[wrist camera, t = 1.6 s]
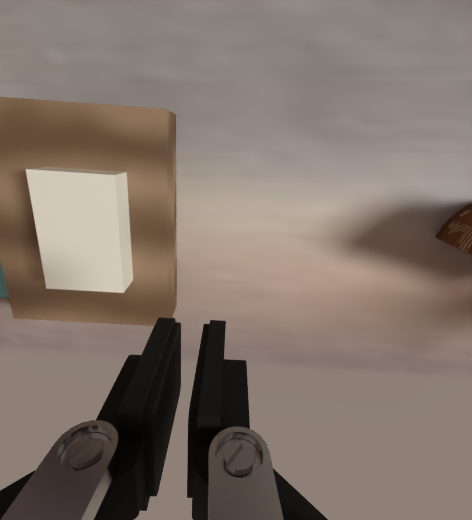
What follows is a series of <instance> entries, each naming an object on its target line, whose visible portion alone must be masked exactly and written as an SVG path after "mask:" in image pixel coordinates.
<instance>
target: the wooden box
mask: <svg viewBox="0 0 472 520" xmlns="http://www.w3.org/2000/svg"><path fill="white" fill-rule="evenodd" d="M39 167H58V168H73V169H88V170H103V171H117V172H127V186H128V203H129V219H130V236H131V253H132V269H133V281H132V282H131V284H130V285H129V286H128V288H127V289H126V290H125V292H124V293H116V292H98V291H81V290H63V289H46V283H45V278H44V272H43V266H42V260H41V255H40V249H39V243H38V238H37V232H36V226H35V220H34V215H33V209H32V203H31V197H30V192H29V186H28V180H27V174H26V169H31V168H39ZM0 260H1V265H2V269H3V274H4V278H5V283H6V287H7V291H8V296H9V300H10V305H11V309H12V314H13V318H18V319H36V320H55V321H73V322H92V323H110V324H129V325H147V326H155V324H156V322H157V319H158V318H159V317H163V318H172V316H173V314H174V311H175V308H176V305H177V284H176V114H174V113H172V112H170V111H168V110H166V109H158V108H144V107H130V106H117V105H103V104H89V103H76V102H62V101H49V100H35V99H21V98H8V97H0Z"/></svg>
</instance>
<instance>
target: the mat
mask: <svg viewBox="0 0 472 520" xmlns="http://www.w3.org/2000/svg"><path fill="white" fill-rule="evenodd" d="M0 297H6V298H9V296H8V291H7V287H6V283H5V278H4V274H3V269H2V265H1V260H0Z"/></svg>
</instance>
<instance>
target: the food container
mask: <svg viewBox="0 0 472 520" xmlns="http://www.w3.org/2000/svg"><path fill="white" fill-rule="evenodd" d="M436 238H438V239H440V240H442V241H444V242H446V243H448V244H450V245H452V246H454V247H456V248H458V249H460V250H462V251H464V252H466V253H468V254H470V255H472V204H471V205H468V206H466V207H465V208H463V209H461V210H460V211H458V212H457V213H456V214H454V215H453V216H452V217H451V218H450V219H449V220H448V221H447V222H446V223H445V224H444V225H443V227H442V228H441V229H440V231H439V232H438V234H437V236H436Z"/></svg>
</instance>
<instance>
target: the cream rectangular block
mask: <svg viewBox="0 0 472 520" xmlns="http://www.w3.org/2000/svg"><path fill="white" fill-rule="evenodd" d="M26 174H27V180H28V186H29V192H30V197H31V203H32V209H33V215H34V220H35V226H36V232H37V238H38V243H39V249H40V255H41V260H42V266H43V272H44V278H45V283H46V289H63V290H81V291H98V292H116V293H124V292H125V290H126V289H127V288H128V286H129V285H130V284H131V282H132V281H133V269H132V253H131V236H130V219H129V203H128V186H127V172H117V171H103V170H88V169H73V168H58V167H39V168H31V169H26Z"/></svg>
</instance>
